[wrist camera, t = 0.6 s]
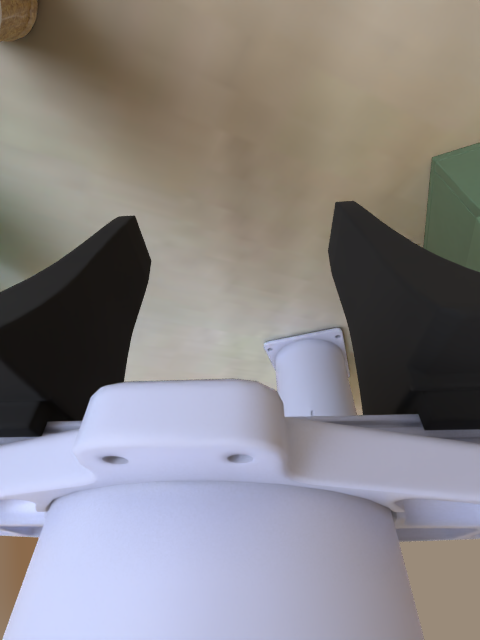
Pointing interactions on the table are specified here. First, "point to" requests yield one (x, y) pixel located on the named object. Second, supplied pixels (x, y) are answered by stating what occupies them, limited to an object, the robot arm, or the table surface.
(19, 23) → the sprinkles bottle
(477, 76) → the table surface
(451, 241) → the chest
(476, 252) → the lid
